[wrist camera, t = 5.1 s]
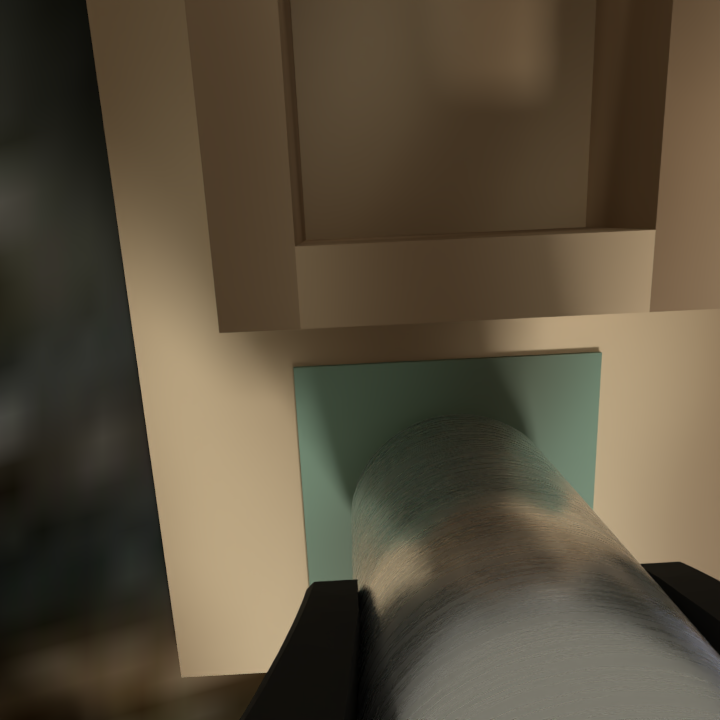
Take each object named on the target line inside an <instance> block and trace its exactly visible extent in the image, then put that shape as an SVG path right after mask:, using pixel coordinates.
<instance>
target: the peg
mask: <svg viewBox="0 0 720 720" xmlns="http://www.w3.org/2000/svg"><path fill="white" fill-rule="evenodd" d="M351 528H352V574H353V579H358V599H359V627H360V653H359V675H358V699H357V720H720V655H719V653H718V652H717V651H716V650H715V649H714V648H713V647H712V645H711V644H710V643H709V642H708V641H707V640H706V639H705V637H704V636H703V635H702V634H701V633H700V632H699V631H698V629H697V628H696V627H695V626H694V625H693V624H692V623H691V621H690V620H689V619H688V618H687V617H686V616H685V615H684V614H683V612H682V611H681V610H680V609H679V608H678V607H677V606H676V604H675V603H674V602H673V601H672V600H671V599H670V598H669V596H668V595H667V594H666V593H665V592H664V591H663V590H662V588H661V587H660V586H659V585H658V584H657V583H656V582H655V580H654V579H653V578H652V577H651V576H650V575H649V574H648V572H647V571H646V570H645V569H644V568H643V567H642V566H641V565H640V563H639V562H638V561H637V560H636V559H635V558H634V557H633V555H632V554H631V553H630V552H629V551H628V550H627V549H626V547H625V546H624V545H623V544H622V543H621V542H620V541H619V539H618V538H617V537H616V536H615V535H614V534H613V533H612V531H611V530H610V529H609V528H608V527H607V526H606V525H605V523H604V522H603V521H602V520H601V519H600V518H599V517H598V515H597V514H596V513H595V512H594V511H593V510H592V509H591V508H590V506H589V505H588V504H587V503H586V502H585V501H584V500H583V498H582V497H581V496H580V495H579V494H578V493H577V492H576V490H575V489H574V488H573V487H572V486H571V485H570V484H569V482H568V481H567V480H566V479H565V478H564V477H563V476H562V474H561V473H560V472H559V471H558V470H557V469H556V468H555V466H554V465H553V464H552V463H551V462H550V461H549V460H548V459H547V457H546V456H545V455H544V454H543V453H542V452H541V451H540V449H539V448H538V447H537V446H536V445H535V444H534V443H533V442H532V441H531V440H530V439H529V438H527V437H526V436H525V435H523V434H522V433H521V432H519V431H518V430H516V429H514V428H513V427H511V426H509V425H507V424H504V423H502V422H500V421H497V420H494V419H491V418H487V417H483V416H476V415H466V414H454V415H445V416H439V417H435V418H430V419H427V420H424V421H421V422H419V423H416V424H413V425H411V426H410V427H408V428H406V429H404V430H402V431H400V432H399V433H397V434H396V435H395V436H393V437H392V438H390V439H389V440H388V441H387V442H386V443H385V444H383V445H382V446H381V447H380V448H379V449H378V450H377V452H376V453H375V454H374V455H373V456H372V457H371V459H370V460H369V462H368V463H367V465H366V466H365V468H364V469H363V471H362V473H361V476H360V478H359V480H358V482H357V485H356V488H355V492H354V495H353V501H352V510H351Z"/></svg>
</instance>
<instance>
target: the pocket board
mask: <svg viewBox="0 0 720 720" xmlns="http://www.w3.org/2000/svg"><path fill="white" fill-rule="evenodd" d="M86 3H87V11H88V18H89V25H90V32H91V39H92V46H93V53H94V60H95V67H96V74H97V81H98V88H99V96H100V103H101V110H102V117H103V124H104V131H105V138H106V145H107V152H108V159H109V166H110V173H111V181H112V188H113V195H114V202H115V209H116V216H117V223H118V230H119V237H120V244H121V251H122V258H123V266H124V273H125V280H126V287H127V294H128V301H129V308H130V315H131V322H132V329H133V336H134V343H135V350H136V358H137V365H138V372H139V379H140V386H141V393H142V400H143V407H144V414H145V421H146V428H147V435H148V443H149V450H150V457H151V464H152V471H153V478H154V485H155V492H156V499H157V506H158V513H159V520H160V528H161V535H162V542H163V549H164V556H165V563H166V570H167V577H168V584H169V591H170V598H171V605H172V613H173V620H174V627H175V634H176V641H177V648H178V655H179V662H180V669H181V676H182V677H196V676H213V675H231V674H248V673H266V672H268V670H269V668H270V666H271V665H272V663H273V661H274V659H275V657H276V656H277V654H278V652H279V650H280V648H281V646H282V644H283V642H284V640H285V638H286V636H287V634H288V632H289V630H290V628H291V626H292V624H293V622H294V619H295V617H296V615H297V613H298V610H299V608H300V606H301V603H302V601H303V598H304V595H305V592H306V590H307V588H308V587H309V586H310V585H311V584H312V583H313V582H317V581H335V580H353V574H352V528H351V510H352V501H353V495H354V492H355V488H356V485H357V482H358V480H359V478H360V476H361V473H362V471H363V469H364V468H365V466H366V465H367V463H368V462H369V460H370V459H371V457H372V456H373V455H374V454H375V453H376V452H377V450H378V449H379V448H380V447H381V446H382V445H383V444H385V443H386V442H387V441H388V440H389V439H390V438H392V437H393V436H395V435H396V434H397V433H399V432H400V431H402V430H404V429H406V428H408V427H410V426H411V425H413V424H416V423H419V422H421V421H424V420H427V419H430V418H435V417H439V416H445V415H454V414H466V415H476V416H483V417H487V418H491V419H494V420H497V421H500V422H502V423H504V424H507V425H509V426H511V427H513V428H514V429H516V430H518V431H519V432H521V433H522V434H523V435H525V436H526V437H527V438H529V439H530V440H531V441H532V442H533V443H534V444H535V445H536V446H537V447H538V448H539V449H540V451H541V452H542V453H543V454H544V455H545V456H546V457H547V459H548V460H549V461H550V462H551V463H552V464H553V465H554V466H555V468H556V469H557V470H558V471H559V472H560V473H561V474H562V476H563V477H564V478H565V479H566V480H567V481H568V482H569V484H570V485H571V486H572V487H573V488H574V489H575V490H576V492H577V493H578V494H579V495H580V496H581V497H582V498H583V500H584V501H585V502H586V503H587V504H588V505H589V506H590V508H591V509H592V510H593V511H594V512H595V513H596V514H597V515H598V517H599V518H600V519H601V520H602V521H603V522H604V523H605V525H606V526H607V527H608V528H609V529H610V530H611V531H612V533H613V534H614V535H615V536H616V537H617V538H618V539H619V541H620V542H621V543H622V544H623V545H624V546H625V547H626V549H627V550H628V551H629V552H630V553H631V554H632V555H633V557H634V558H635V559H636V560H637V561H638V562H639V563H640V564H644V563H662V562H682V563H684V564H687V565H689V566H691V567H693V568H695V569H697V570H699V571H701V572H703V573H705V574H707V575H709V576H711V577H713V578H715V579H717V580H719V581H720V0H86Z"/></svg>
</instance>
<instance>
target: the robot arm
mask: <svg viewBox="0 0 720 720" xmlns="http://www.w3.org/2000/svg"><path fill="white" fill-rule="evenodd" d="M640 565H641V566H642V567H643V568H644V569H645V570H646V571H647V572H648V574H649V575H650V576H651V577H652V578H653V579H654V580H655V582H656V583H657V584H658V585H659V586H660V587H661V588H662V590H663V591H664V592H665V593H666V594H667V595H668V596H669V598H670V599H671V600H672V601H673V602H674V603H675V604H676V606H677V607H678V608H679V609H680V610H681V611H682V612H683V614H684V615H685V616H686V617H687V618H688V619H689V620H690V621H691V623H692V624H693V625H694V626H695V627H696V628H697V629H698V631H699V632H700V633H701V634H702V635H703V636H704V637H705V639H706V640H707V641H708V642H709V643H710V644H711V645H712V647H713V648H714V649H715V650H716V651H717V652H718V653H719V655H720V581H719V580H717V579H715V578H713V577H711V576H709V575H707V574H705V573H703V572H701V571H699V570H697V569H695V568H693V567H691V566H689V565H687V564H684V563H682V562H662V563H644V564H640ZM359 653H360V627H359V599H358V579H353V580H335V581H317V582H313V583H312V584H311V585H310V586H309V587H308V588H307V590H306V592H305V595H304V598H303V601H302V603H301V606H300V608H299V610H298V613H297V615H296V617H295V619H294V622H293V624H292V626H291V628H290V630H289V632H288V634H287V636H286V638H285V640H284V642H283V644H282V646H281V648H280V650H279V652H278V654H277V656H276V657H275V659H274V661H273V663H272V665H271V666H270V668H269V670H268V672H267V674H266V675H265V677H264V679H263V681H262V683H261V684H260V686H259V688H258V690H257V692H256V693H255V695H254V697H253V699H252V700H251V702H250V704H249V705H248V707H247V709H246V710H245V712H244V714H243V715H242V717H241V718H240V720H357V699H358V675H359Z"/></svg>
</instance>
